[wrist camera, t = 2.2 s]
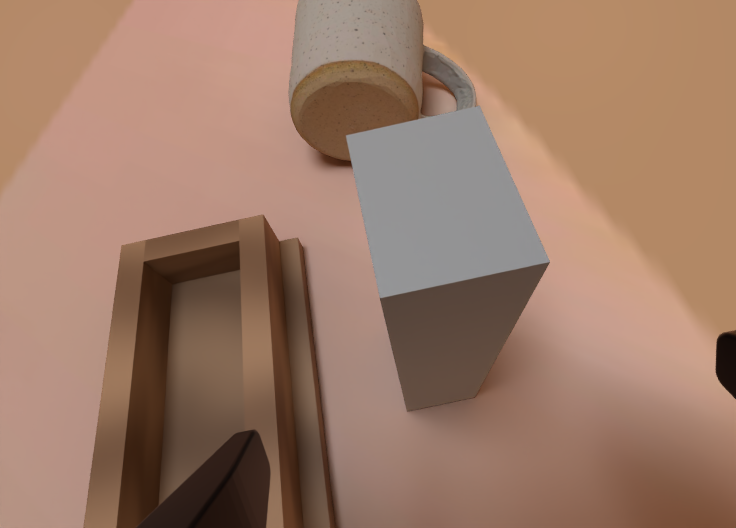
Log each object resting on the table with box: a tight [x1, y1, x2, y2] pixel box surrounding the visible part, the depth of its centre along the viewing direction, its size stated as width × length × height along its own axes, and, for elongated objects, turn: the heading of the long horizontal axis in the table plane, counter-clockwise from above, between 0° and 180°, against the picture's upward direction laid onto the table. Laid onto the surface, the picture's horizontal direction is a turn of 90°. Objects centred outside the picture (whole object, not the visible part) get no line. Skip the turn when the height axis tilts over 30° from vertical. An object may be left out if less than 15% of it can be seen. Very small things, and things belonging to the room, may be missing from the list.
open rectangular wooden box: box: [83, 215, 335, 528], centre depth 17 cm, size 20×9×4 cm, turn 10°
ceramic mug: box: [289, 0, 476, 161], centre depth 23 cm, size 11×8×8 cm
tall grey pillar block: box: [346, 106, 550, 411], centre depth 14 cm, size 4×3×12 cm
